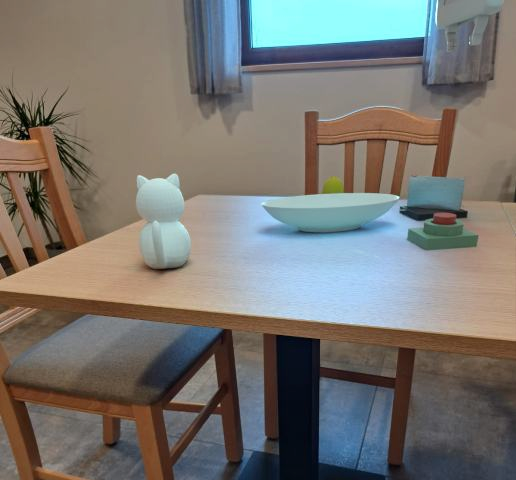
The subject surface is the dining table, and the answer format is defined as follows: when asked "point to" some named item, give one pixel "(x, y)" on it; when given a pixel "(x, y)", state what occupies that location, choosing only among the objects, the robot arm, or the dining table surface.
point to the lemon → (333, 186)
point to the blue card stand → (435, 192)
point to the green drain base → (442, 236)
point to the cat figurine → (162, 223)
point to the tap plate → (429, 213)
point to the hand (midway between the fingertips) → (462, 48)
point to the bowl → (330, 210)
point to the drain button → (444, 218)
